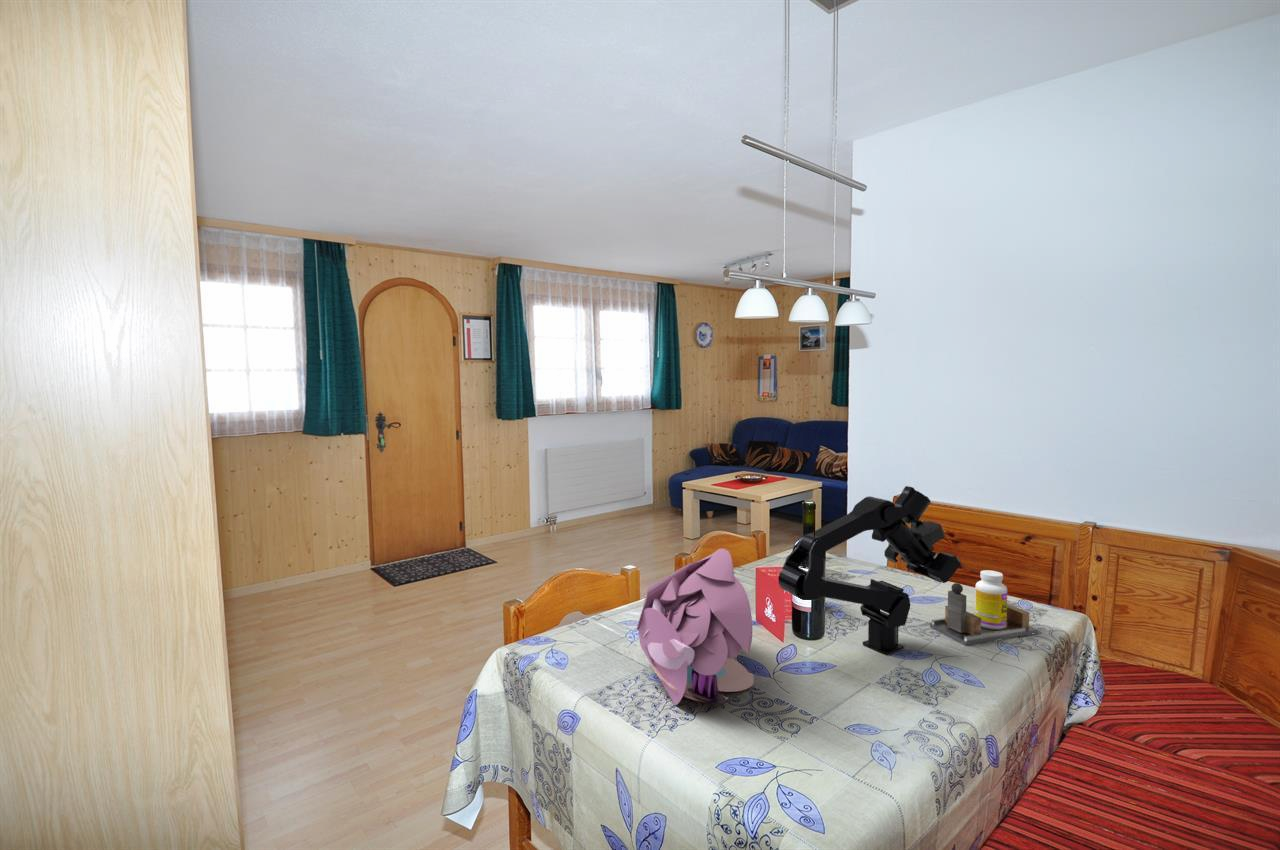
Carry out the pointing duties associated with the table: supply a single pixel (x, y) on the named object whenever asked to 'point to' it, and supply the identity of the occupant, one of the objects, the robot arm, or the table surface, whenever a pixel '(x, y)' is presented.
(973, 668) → the table surface
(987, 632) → the bench clamp
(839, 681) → the table surface
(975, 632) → the sliding jaw
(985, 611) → the supplement bottle
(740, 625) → the flower arrangement
